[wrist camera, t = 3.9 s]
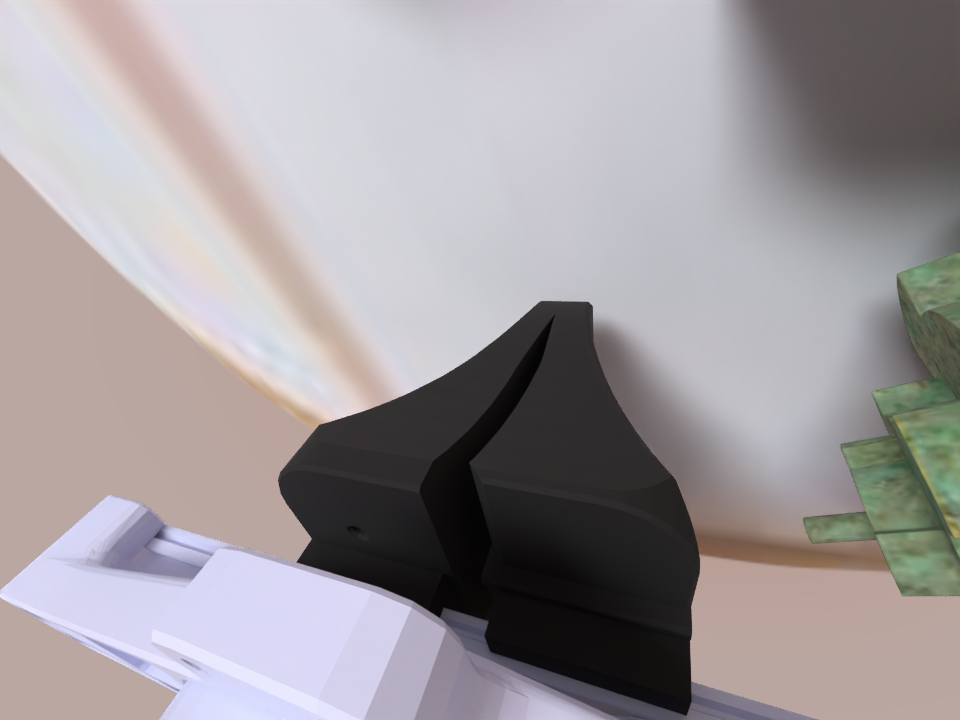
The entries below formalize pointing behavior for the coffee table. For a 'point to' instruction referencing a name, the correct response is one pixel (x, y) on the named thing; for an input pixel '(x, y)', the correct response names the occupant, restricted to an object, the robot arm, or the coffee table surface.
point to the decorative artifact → (914, 449)
